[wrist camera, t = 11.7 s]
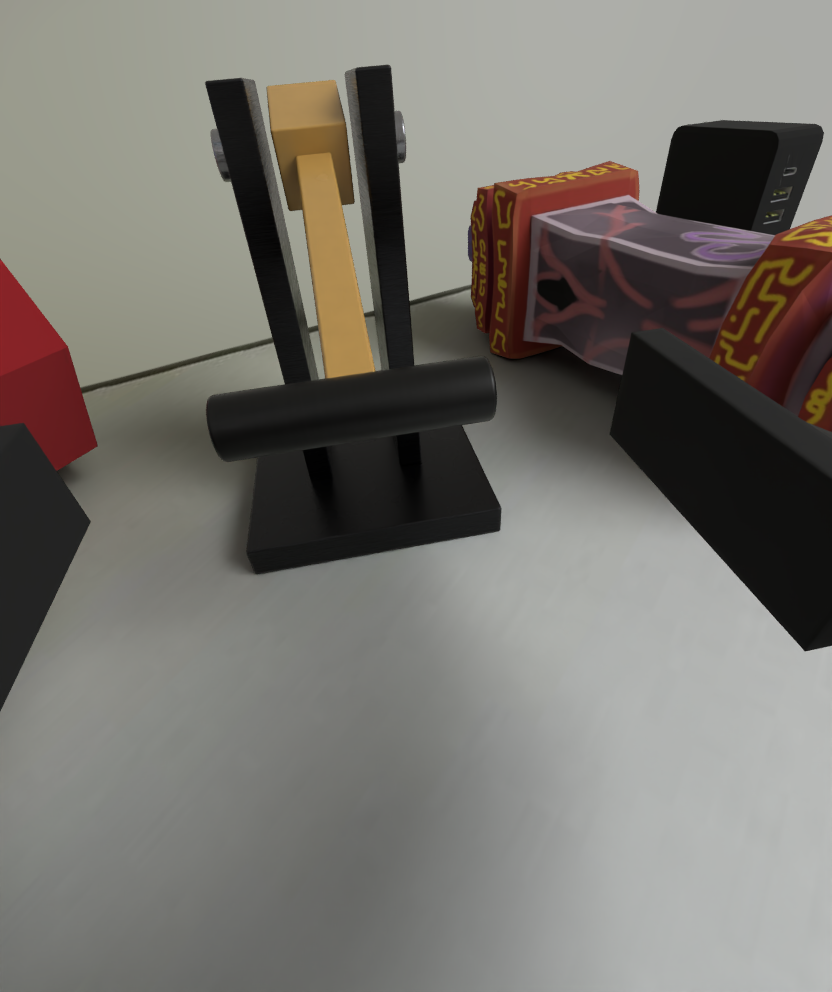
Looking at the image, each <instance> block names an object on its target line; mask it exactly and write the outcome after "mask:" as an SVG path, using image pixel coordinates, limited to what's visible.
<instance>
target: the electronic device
mask: <svg viewBox="0 0 832 992" xmlns="http://www.w3.org/2000/svg"><path fill="white" fill-rule="evenodd" d="M823 134H824V132H823V130H822V127H821V126H819V125H817V124H800V123H777V122H752V121H727V120H721V121H714V122H704V123H700V124H692V125H691V124H688V125H684V126H681V127H678V128H677V129H676V131H675V132H674V134H673V137H672V139H671V144H670V148H669V154H668V158H667V163H666V168H665V172H664V177H663V181H662V186H661V191H660V196H659V200H658V205H657V211H656V213H657V214H661V215H666V216H671V217H676V218H682V219H687V220H692V221H697V222H702V223H708V224H714V225H719V226H725V227H730V228H736V229H741V230H747V231H752V232H758V233H764V234H769V235H776V234H779V233H782V232H784V231H787V230H790V227H791V224H792V221H793V219H794V216H795V214H796V211H797V208H798V205H799V203H800V200H801V197H802V194H803V192H804V189H805V186H806V184H807V181H808V179H809V176H810V173H811V170H812V168H813V165H814V162H815V160H816V157H817V154H818V152H819V149H820V146H821V144H822V139H823Z"/></svg>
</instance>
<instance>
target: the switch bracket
mask: <svg viewBox="0 0 832 992" xmlns="http://www.w3.org/2000/svg"><path fill="white" fill-rule="evenodd" d="M345 80H346V89H347V96H348V105H349V113H350V121H351V129H352V137H353V145H354V153H355V161H356V168H357V177H358V185H359V193H360V201H361V209H362V216H363V224H364V232H365V241H366V249H367V256H368V265H369V273H370V280H371V289H372V297H373V305H374V313H375V321H376V329H377V337H378V345H379V353H380V361H381V369H382V370H388V369H395V368H402V367H408V366H414V355H413V342H412V329H411V316H410V304H409V291H408V278H407V266H406V253H405V240H404V227H403V215H402V202H401V189H400V176H399V163H403V162H404V161H405V158H406V137H405V127H404V121H403V116H402V114H401V112H400V111H394V100H393V87H392V74H391V67H390V65H380V66H368V67H359V68H354V69H352V70H349V71H346V72H345ZM205 85H206V88H207V92H208V96H209V100H210V104H211V107H212V111H213V115H214V119H215V122H216V126H217V129H212V130H211V142H212V147H213V151H214V155H215V159H216V163H217V166H218V169H219V172H220V174H221V177H222V178H223V180H224V181H225V182H231V183H232V186H233V190H234V194H235V198H236V202H237V205H238V209H239V212H240V217H241V220H242V224H243V228H244V232H245V236H246V239H247V242H248V247H249V251H250V254H251V258H252V262H253V265H254V269H255V273H256V277H257V281H258V284H259V288H260V292H261V295H262V300H263V303H264V307H265V311H266V314H267V318H268V322H269V326H270V330H271V334H272V337H273V341H274V345H275V349H276V352H277V356H278V360H279V364H280V367H281V371H282V375H283V379H284V383H285V384H292V383H298V382H305V381H312V380H319V377H318V373H317V368H316V363H315V359H314V354H313V349H312V345H311V340H310V335H309V331H308V326H307V321H306V317H305V313H304V308H303V303H302V299H301V294H300V289H299V284H298V280H297V275H296V270H295V266H294V261H293V257H292V252H291V248H290V242H289V238H288V233H287V229H286V224H285V219H284V215H283V210H282V205H281V201H280V197H279V191H278V187H277V182H276V178H275V173H274V168H273V163H272V159H271V154H270V150H269V145H268V140H267V136H266V131H265V126H264V122H263V117H262V112H261V108H260V103H259V98H258V94H257V89H256V85H255V81H254V80H251V79H244V78H235V79H224V80H213V81H206V82H205ZM500 524H501V507H500V504H499V502H498V500H497V498H496V496H495V494H494V492H493V490H492V488H491V485H490V483H489V481H488V479H487V477H486V475H485V473H484V471H483V469H482V466H481V464H480V462H479V460H478V458H477V456H476V454H475V452H474V450H473V447H472V445H471V443H470V441H469V439H468V437H467V435H466V433H465V431H464V428H463V426H462V425H459V426H453V427H447V428H440V429H434V430H428V431H421V432H415V433H409V434H402V435H396V436H390V437H383V438H377V439H371V440H364V441H358V442H352V443H345V444H339V445H333V446H326V447H320V448H314V449H307V450H301V451H294V452H288V453H282V454H275V455H269V456H263V457H258V458H257V467H256V475H255V483H254V492H253V500H252V509H251V517H250V525H249V534H248V542H247V550H246V553H247V556H248V558H249V560H250V563H251V565H252V568H253V570H254V572H255V574H261V573H266V572H272V571H277V570H283V569H289V568H294V567H300V566H305V565H311V564H317V563H322V562H328V561H333V560H339V559H345V558H350V557H356V556H361V555H367V554H373V553H378V552H384V551H389V550H395V549H401V548H406V547H412V546H417V545H423V544H429V543H434V542H440V541H445V540H451V539H457V538H462V537H468V536H474V535H479V534H485V533H490V532H496V531H499V530H500Z"/></svg>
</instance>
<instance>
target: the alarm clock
mask: <svg viewBox="0 0 832 992" xmlns="http://www.w3.org/2000/svg"><path fill="white" fill-rule="evenodd" d="M18 423H24V424H25V425H26V427H27V428H28V430H29V431H30V433H31V434H32V435H33V437H34V438H35V440H36V441H37V443H38V444H39V446H40V447H41V449H42V450H43V452H44V453H45V455H46V456H47V458H48V459H49V461H50V462H51V464H52V465H53V467H54V468H55V470H56V471H57V470H59V469H61V468H62V467H64V466H66V465H67V464H69V463H71V462H72V461H74V460H76V459H77V458H79V457H81V456H82V455H84V454H85V453H87V452H89V451H90V450H92V449H94V448H95V447H97V446H98V445H97V442H96V438H95V435H94V432H93V429H92V425H91V422H90V419H89V415H88V412H87V409H86V405H85V402H84V399H83V395H82V392H81V389H80V385H79V382H78V379H77V375H76V372H75V369H74V365H73V362H72V359H71V356H70V352H69V349H68V346H67V345H66V344H65V342H64V341H63V340H62V338H61V337H60V336H59V335H58V333H57V332H56V331H55V329H54V328H53V327H52V325H51V324H50V323H49V322H48V320H47V319H46V318H45V316H44V315H43V314H42V312H41V311H40V310H39V309H38V308H37V306H36V305H35V303H34V302H33V301H32V300H31V298H30V297H29V296H28V294H27V293H26V292H25V290H24V289H23V288H22V286H21V285H20V284H19V283H18V281H17V280H16V279H15V277H14V276H13V275H12V273H11V272H10V271H9V270H8V268H7V267H6V266H5V264H4V263H3V262H2V261H1V259H0V426H5V425H12V424H18Z"/></svg>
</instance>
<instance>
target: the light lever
mask: <svg viewBox="0 0 832 992" xmlns="http://www.w3.org/2000/svg"><path fill="white" fill-rule="evenodd" d="M267 98H268V108H269V118H270V129H271V135H272V139H273V144H274V148H275V152H276V157H277V161H278V165H279V170H280V174H281V179H282V183H283V187H284V191H285V196H286V200H287V205H288V209H289V210H290V211H295V210H303V218H304V226H305V233H306V240H307V248H308V255H309V262H310V270H311V277H312V285H313V292H314V299H315V306H316V314H317V321H318V329H319V336H320V343H321V351H322V358H323V365H324V373H325V379H319V380H312V381H305V382H298V383H292V384H285V385H278V386H271V387H264V388H257V389H250V390H243V391H237V392H230V393H223V394H216V395H212V396H211V397H209V398H208V401H207V407H206V417H207V425H208V430H209V434H210V438H211V441H212V444H213V446H214V448H215V450H216V452H217V454H218V456H219V457H220V458H221V460H223V461H226V462H231V461H237V460H244V459H250V458H256V457H263V456H269V455H275V454H282V453H288V452H294V451H301V450H307V449H314V448H320V447H326V446H333V445H339V444H345V443H352V442H358V441H364V440H371V439H377V438H383V437H390V436H396V435H402V434H409V433H415V432H421V431H428V430H434V429H440V428H447V427H453V426H459V425H466V424H472V423H478V422H485V421H490V420H491V419H493V417H494V415H495V412H496V405H497V391H496V383H495V377H494V373H493V370H492V367H491V365H490V362H489V361H488V359H487V358H486V357H483V356H477V357H470V358H463V359H457V360H450V361H443V362H436V363H429V364H422V365H415V366H408V367H402V368H395V369H388V370H381V371H375V367H374V362H373V357H372V352H371V347H370V342H369V337H368V332H367V327H366V323H365V318H364V313H363V308H362V303H361V298H360V293H359V288H358V283H357V278H356V273H355V269H354V263H353V258H352V253H351V248H350V244H349V239H348V234H347V229H346V224H345V219H344V214H343V209H342V205H347V204H354V202H355V201H354V192H353V183H352V174H351V165H350V156H349V146H348V138H347V128H346V122H345V118H344V114H343V110H342V105H341V102H340V97H339V93H338V89H337V85H336V81H335V80H328V81H318V82H306V83H295V84H285V85H275V86H267Z"/></svg>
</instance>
